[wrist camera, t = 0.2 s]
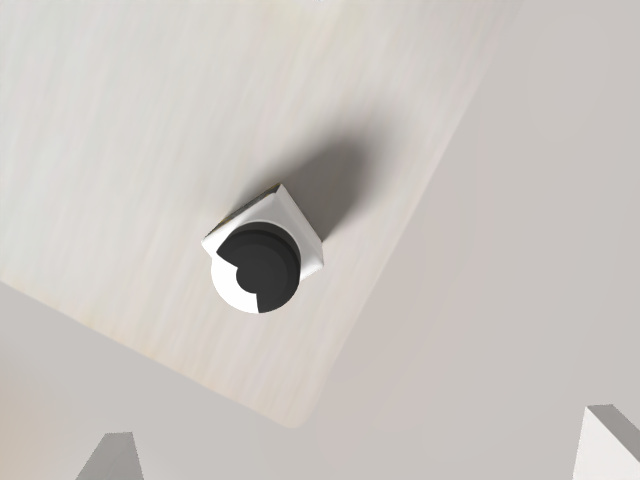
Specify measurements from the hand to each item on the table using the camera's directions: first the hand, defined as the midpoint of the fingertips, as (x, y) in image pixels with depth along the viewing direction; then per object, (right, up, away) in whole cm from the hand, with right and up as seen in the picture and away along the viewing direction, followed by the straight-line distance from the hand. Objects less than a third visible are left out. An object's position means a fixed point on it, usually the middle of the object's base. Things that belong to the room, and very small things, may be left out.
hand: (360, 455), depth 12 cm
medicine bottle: (-6, +7, +26) cm, 28 cm away
